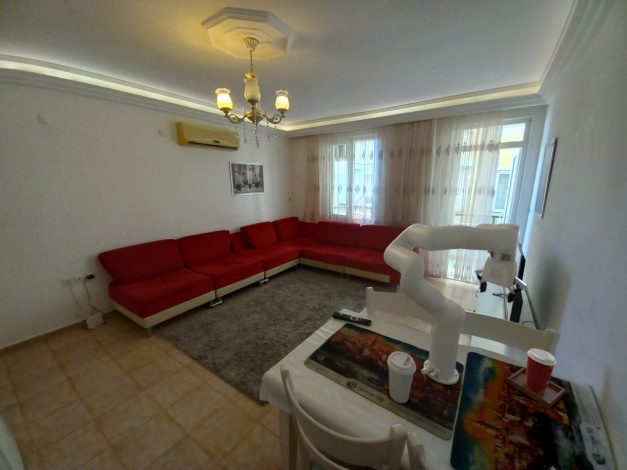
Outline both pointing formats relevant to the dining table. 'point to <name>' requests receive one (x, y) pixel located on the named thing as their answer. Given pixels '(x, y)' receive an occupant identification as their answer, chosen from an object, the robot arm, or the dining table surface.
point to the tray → (546, 399)
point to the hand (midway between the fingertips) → (495, 296)
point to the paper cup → (539, 370)
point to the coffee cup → (400, 375)
